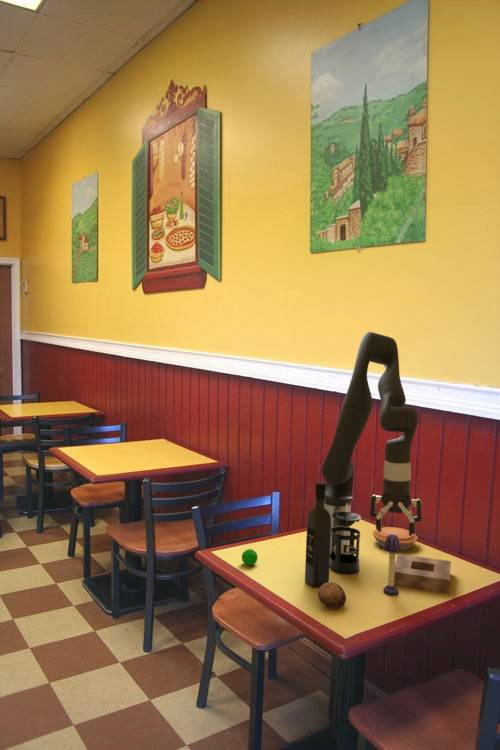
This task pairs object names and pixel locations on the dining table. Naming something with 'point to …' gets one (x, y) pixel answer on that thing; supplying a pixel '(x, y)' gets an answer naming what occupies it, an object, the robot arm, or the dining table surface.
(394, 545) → the toy lamp
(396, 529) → the pie
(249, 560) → the green ball
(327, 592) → the brown round lump
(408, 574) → the socket block
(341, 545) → the french press
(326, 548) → the wine bottle
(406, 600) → the dining table surface
